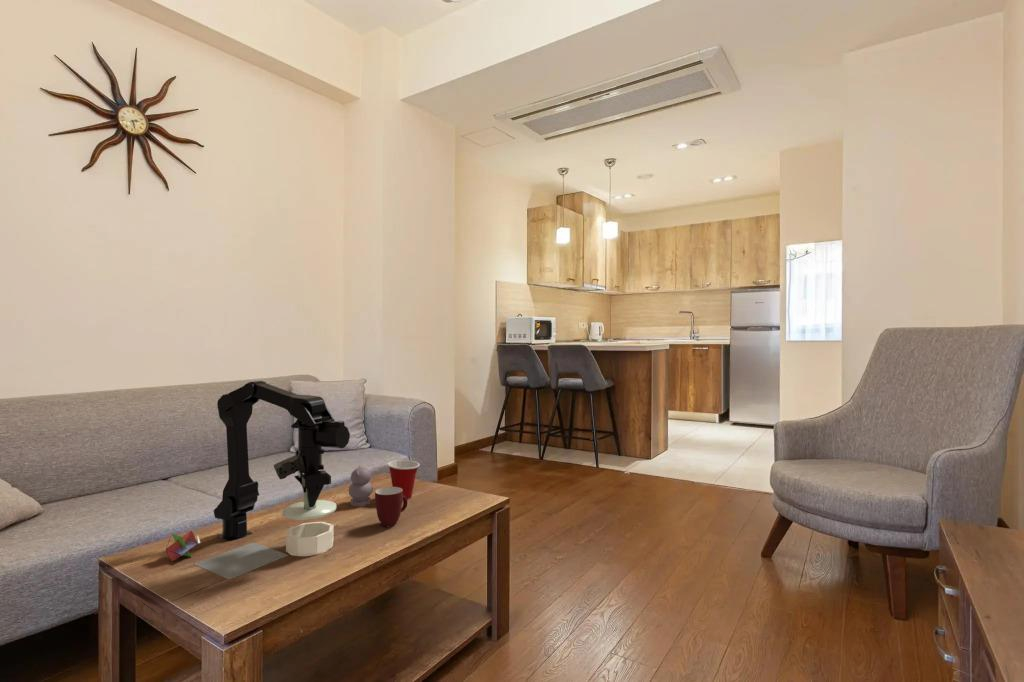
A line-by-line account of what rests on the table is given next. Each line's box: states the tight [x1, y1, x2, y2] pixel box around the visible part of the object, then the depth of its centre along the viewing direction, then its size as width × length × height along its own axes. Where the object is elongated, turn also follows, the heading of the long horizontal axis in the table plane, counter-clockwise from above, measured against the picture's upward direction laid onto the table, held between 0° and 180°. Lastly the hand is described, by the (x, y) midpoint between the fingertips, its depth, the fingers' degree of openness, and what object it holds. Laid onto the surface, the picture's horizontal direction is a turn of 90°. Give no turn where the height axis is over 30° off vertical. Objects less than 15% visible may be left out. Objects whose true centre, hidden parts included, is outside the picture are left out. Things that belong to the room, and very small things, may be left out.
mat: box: [193, 542, 289, 580], centre depth 124 cm, size 15×15×1 cm
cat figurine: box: [348, 464, 374, 507], centre depth 168 cm, size 8×8×12 cm
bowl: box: [285, 521, 335, 557], centre depth 132 cm, size 11×11×5 cm
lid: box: [282, 492, 337, 521], centre depth 132 cm, size 13×13×5 cm
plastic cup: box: [387, 459, 420, 500], centre depth 174 cm, size 11×11×12 cm
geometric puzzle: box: [164, 530, 201, 562], centre depth 125 cm, size 7×7×8 cm
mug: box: [374, 486, 408, 528], centre depth 150 cm, size 11×8×10 cm
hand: (310, 505), depth 132 cm, fingers closed on lid, 3 cm apart
